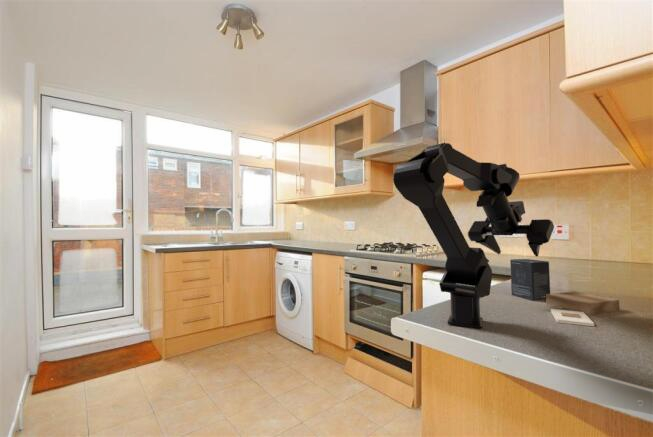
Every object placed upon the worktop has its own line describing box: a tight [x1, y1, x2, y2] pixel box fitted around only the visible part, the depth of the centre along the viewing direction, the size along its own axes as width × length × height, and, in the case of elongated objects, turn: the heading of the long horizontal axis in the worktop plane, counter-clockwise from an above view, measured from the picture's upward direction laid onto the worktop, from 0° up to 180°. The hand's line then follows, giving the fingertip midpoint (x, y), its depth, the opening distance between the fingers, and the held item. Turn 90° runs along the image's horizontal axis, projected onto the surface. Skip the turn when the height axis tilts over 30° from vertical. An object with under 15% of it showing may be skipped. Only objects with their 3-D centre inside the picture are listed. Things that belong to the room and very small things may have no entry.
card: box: [550, 308, 595, 327], centre depth 67 cm, size 9×6×1 cm, turn 150°
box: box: [509, 258, 551, 302], centre depth 86 cm, size 8×6×11 cm
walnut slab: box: [545, 290, 620, 316], centre depth 75 cm, size 10×10×2 cm
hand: (517, 254), depth 81 cm, fingers open, 9 cm apart
